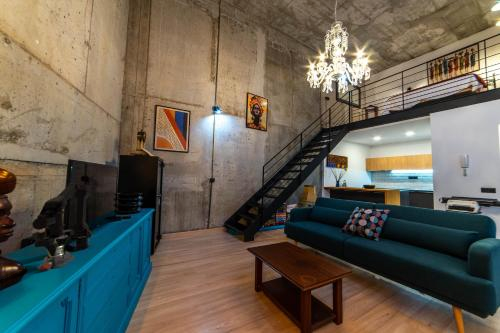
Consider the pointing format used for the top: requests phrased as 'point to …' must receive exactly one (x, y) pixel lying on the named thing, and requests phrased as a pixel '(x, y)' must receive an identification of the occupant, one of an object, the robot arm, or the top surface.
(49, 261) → the valve body
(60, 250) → the coupling
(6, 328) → the top surface
